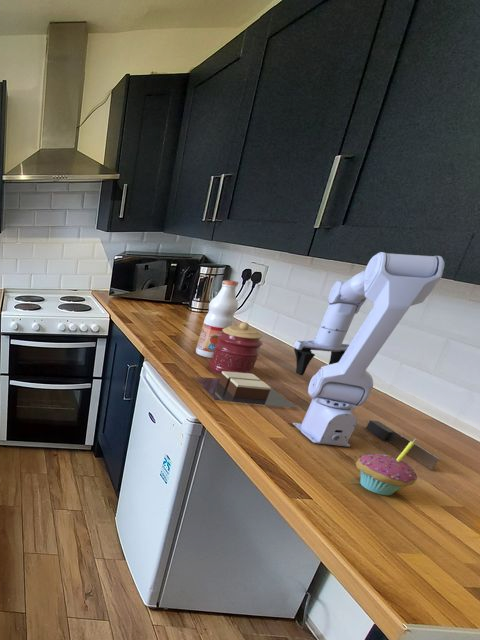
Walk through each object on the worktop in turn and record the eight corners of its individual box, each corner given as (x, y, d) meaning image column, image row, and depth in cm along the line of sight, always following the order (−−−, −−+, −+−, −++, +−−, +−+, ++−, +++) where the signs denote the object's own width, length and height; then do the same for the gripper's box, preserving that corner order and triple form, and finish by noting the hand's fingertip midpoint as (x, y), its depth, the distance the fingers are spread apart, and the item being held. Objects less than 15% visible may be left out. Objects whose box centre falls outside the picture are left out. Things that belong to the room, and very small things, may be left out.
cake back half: (256, 391, 122) (260, 379, 121) (224, 388, 123) (228, 376, 122) (248, 385, 126) (252, 373, 125) (218, 382, 128) (222, 371, 126)
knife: (365, 428, 104) (370, 418, 103) (374, 429, 104) (379, 419, 103) (426, 469, 88) (433, 458, 87) (437, 470, 88) (444, 459, 86)
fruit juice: (206, 349, 160) (227, 278, 149) (228, 357, 152) (252, 283, 141) (189, 352, 157) (209, 279, 145) (210, 360, 149) (233, 284, 137)
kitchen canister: (216, 377, 133) (232, 325, 126) (202, 363, 145) (216, 316, 138) (258, 381, 131) (277, 329, 124) (241, 367, 143) (257, 319, 136)
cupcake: (380, 477, 85) (408, 428, 80) (417, 504, 77) (451, 452, 72) (337, 473, 85) (362, 424, 80) (370, 500, 77) (399, 448, 73)
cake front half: (266, 400, 117) (271, 387, 115) (233, 397, 118) (237, 384, 116) (258, 393, 121) (262, 381, 119) (226, 390, 122) (230, 378, 121)
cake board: (297, 409, 113) (298, 407, 113) (214, 402, 116) (215, 400, 115) (264, 384, 129) (264, 382, 129) (192, 378, 132) (192, 376, 132)
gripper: (352, 326, 110) (332, 372, 115) (295, 322, 111) (278, 367, 117) (372, 333, 103) (350, 381, 109) (311, 329, 105) (292, 376, 110)
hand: (313, 375), depth 112 cm, fingers open, 7 cm apart
